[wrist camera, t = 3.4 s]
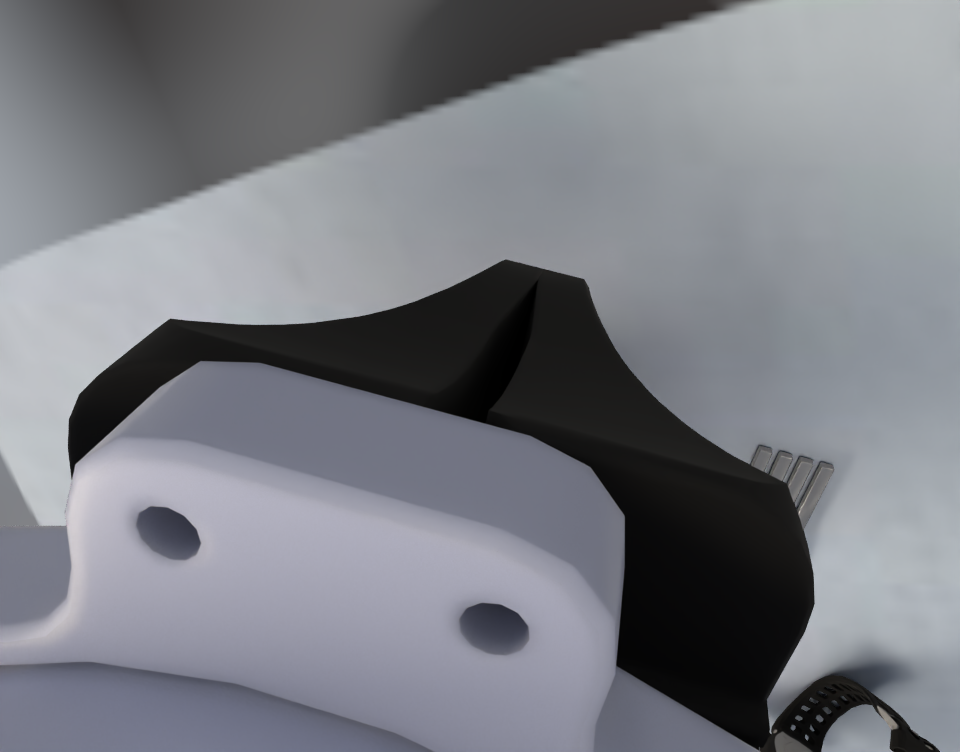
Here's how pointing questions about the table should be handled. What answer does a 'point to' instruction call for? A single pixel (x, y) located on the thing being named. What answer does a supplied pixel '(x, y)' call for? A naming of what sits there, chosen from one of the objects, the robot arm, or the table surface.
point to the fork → (796, 478)
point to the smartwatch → (790, 746)
